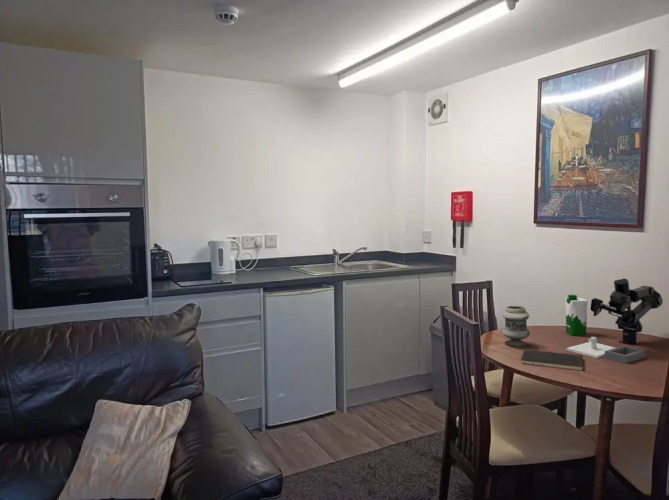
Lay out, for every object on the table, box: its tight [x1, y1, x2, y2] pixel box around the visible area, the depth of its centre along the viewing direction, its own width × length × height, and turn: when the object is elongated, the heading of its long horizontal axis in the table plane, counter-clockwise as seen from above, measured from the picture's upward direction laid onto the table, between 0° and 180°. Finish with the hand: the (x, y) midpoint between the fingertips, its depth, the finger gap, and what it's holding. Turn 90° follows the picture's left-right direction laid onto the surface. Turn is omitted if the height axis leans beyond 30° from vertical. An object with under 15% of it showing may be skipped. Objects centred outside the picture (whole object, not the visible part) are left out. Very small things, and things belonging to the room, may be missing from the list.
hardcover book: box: [520, 348, 584, 371], centre depth 198 cm, size 16×23×2 cm
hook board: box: [566, 336, 616, 359], centre depth 211 cm, size 18×14×6 cm
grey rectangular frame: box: [604, 345, 646, 364], centre depth 200 cm, size 14×9×3 cm, turn 119°
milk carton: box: [565, 294, 589, 337], centre depth 238 cm, size 9×9×20 cm
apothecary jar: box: [502, 305, 531, 348], centre depth 223 cm, size 12×12×18 cm
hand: (604, 319), depth 206 cm, fingers open, 9 cm apart
